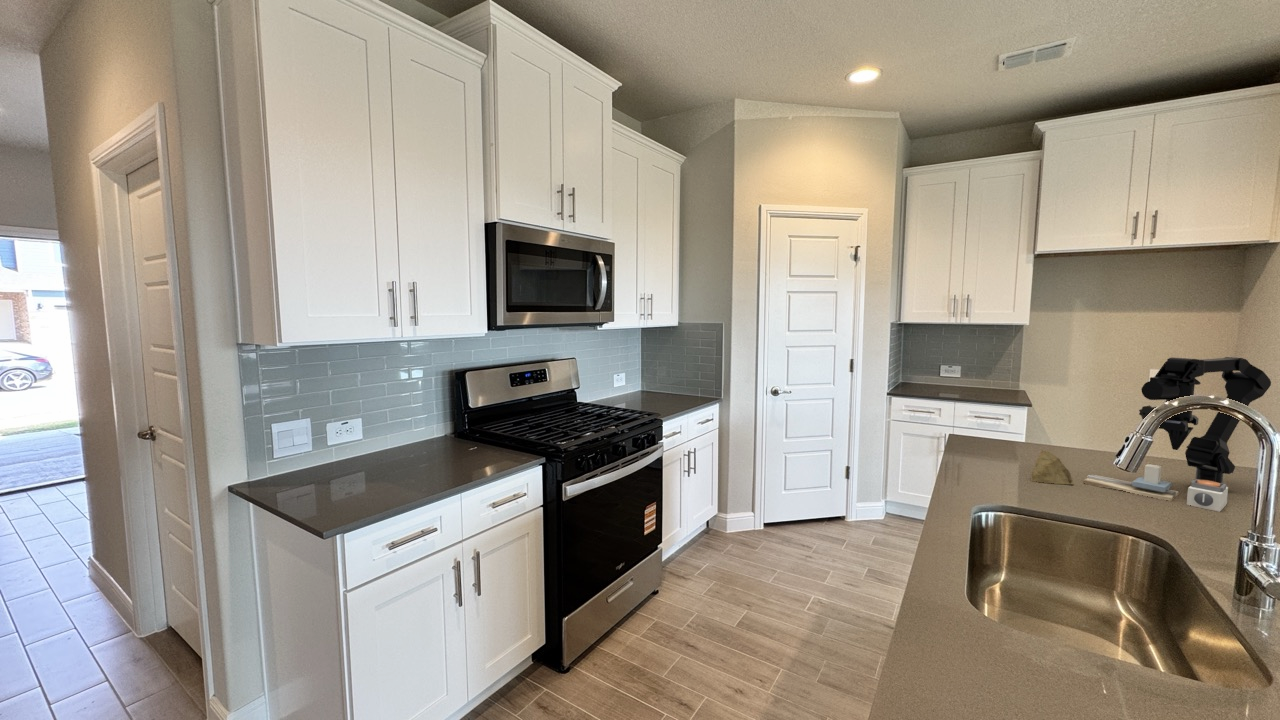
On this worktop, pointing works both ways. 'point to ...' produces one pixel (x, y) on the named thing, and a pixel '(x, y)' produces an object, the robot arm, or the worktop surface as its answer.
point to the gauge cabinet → (1207, 496)
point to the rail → (1129, 487)
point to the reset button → (1208, 483)
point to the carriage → (1152, 479)
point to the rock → (1050, 470)
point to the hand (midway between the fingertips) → (1175, 449)
